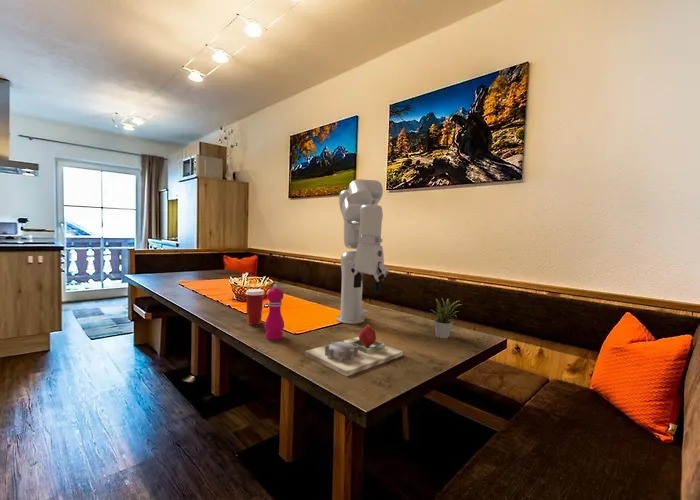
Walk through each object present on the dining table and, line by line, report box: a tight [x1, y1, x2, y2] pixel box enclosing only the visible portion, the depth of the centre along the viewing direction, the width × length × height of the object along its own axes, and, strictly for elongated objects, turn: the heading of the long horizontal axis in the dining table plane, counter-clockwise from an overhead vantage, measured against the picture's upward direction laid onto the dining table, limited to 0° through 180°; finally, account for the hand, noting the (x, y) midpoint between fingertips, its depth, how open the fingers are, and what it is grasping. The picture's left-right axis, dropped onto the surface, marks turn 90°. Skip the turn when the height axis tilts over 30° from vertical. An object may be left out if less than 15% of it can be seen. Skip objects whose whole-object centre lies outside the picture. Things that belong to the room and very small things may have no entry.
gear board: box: [304, 336, 404, 377], centre depth 114 cm, size 26×20×4 cm
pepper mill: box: [264, 283, 285, 340], centre depth 129 cm, size 7×7×20 cm
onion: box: [358, 324, 377, 348], centre depth 118 cm, size 6×6×8 cm
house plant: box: [427, 296, 463, 339], centre depth 138 cm, size 14×14×16 cm
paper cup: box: [245, 288, 265, 326], centre depth 146 cm, size 8×8×14 cm
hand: (367, 289), depth 119 cm, fingers open, 9 cm apart
